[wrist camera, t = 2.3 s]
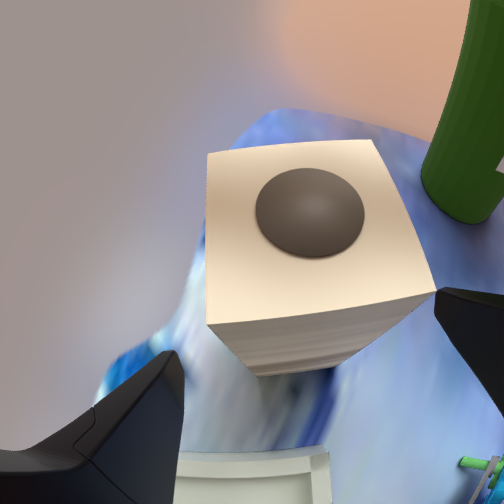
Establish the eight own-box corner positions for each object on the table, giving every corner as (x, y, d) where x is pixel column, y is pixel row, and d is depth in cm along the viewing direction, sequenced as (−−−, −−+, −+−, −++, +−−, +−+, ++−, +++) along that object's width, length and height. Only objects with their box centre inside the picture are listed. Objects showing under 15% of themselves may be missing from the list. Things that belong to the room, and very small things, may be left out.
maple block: (335, 366, 17) (438, 289, 5) (257, 376, 17) (205, 323, 5) (323, 295, 19) (371, 137, 8) (250, 304, 19) (206, 151, 8)
